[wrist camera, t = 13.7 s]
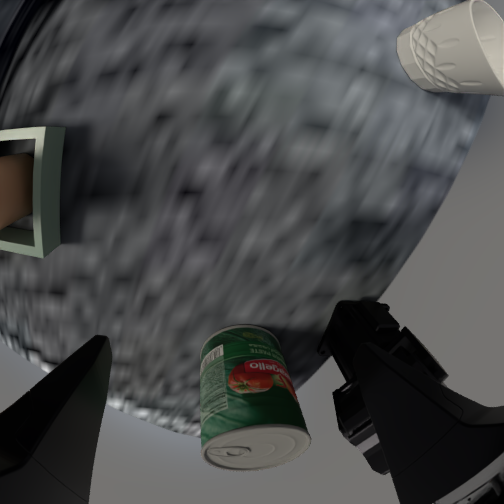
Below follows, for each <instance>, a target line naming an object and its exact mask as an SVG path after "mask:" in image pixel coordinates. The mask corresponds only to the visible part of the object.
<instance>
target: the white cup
mask: <svg viewBox="0 0 504 504" xmlns="http://www.w3.org/2000/svg"><path fill="white" fill-rule="evenodd" d="M397 53H398V56H399V59H400V62H401V65H402V67H403V68H404V70H405V71H406V73H407V74H408V76H409V77H410V79H411V80H412V81H413V82H414V83H416V84H417V85H418V86H419V87H420V88H422V89H424V90H427V91H430V92H451V93H466V94H481V95H496V96H504V21H503V20H502V18H501V17H500V16H499V14H498V13H497V12H496V11H495V10H494V9H493V8H492V7H491V6H490V5H489V4H488V3H486V2H485V1H483V0H468V1H465V2H462V3H460V4H457V5H454V6H452V7H449V8H447V9H444V10H442V11H439V12H437V13H435V14H433V15H431V16H430V17H427V18H425V19H423V20H421V21H420V22H418V23H417V24H415V25H413V26H411V27H409V28H406V29H404V30H403V31H402V32H401V34H400V35H399V36H398V38H397Z"/></svg>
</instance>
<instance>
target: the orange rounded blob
mask: <svg viewBox="0 0 504 504" xmlns="http://www.w3.org/2000/svg"><path fill="white" fill-rule="evenodd" d="M33 168H34V158H32V157H31V156H30V155H28V154H25V153H20V154H14V155H8V156H2V157H0V230H1V229H3V228H5V227H6V226H8V225H10V224H12V223H13V222H15V221H17V220H19V219H21V218H23V217H25V216H27V215H28V214H30V213H32V212H33Z"/></svg>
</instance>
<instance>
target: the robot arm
mask: <svg viewBox="0 0 504 504" xmlns="http://www.w3.org/2000/svg"><path fill="white" fill-rule="evenodd" d="M341 306H342V307H341ZM340 307H341V308H340ZM389 309H390V307H389V306H388V305H387V304H381V303H379V302H366V301H360V302H345V301H341V302H338V303H337V305H336V307H335V309H334V312H333V314H332V317H331V319H330V322H329V324H328V327H327V329H326V332H325V334H324V336H323V339H322V341H321V343H320V346H319V348H318V350H317V352H318V354H319V355H320V356H333V357H334V359H335V361H336V363H337V365H338V367H339V369H340V371H341V372H342V374H343V376H344V378H345V380H346V383H345V384H344V385H343V386H341V387H340V388H339V389H336V390H335V391H334V392H333V399H334V405H335V410H336V416H337V422H338V427H339V431H340V432H341V433H342V435H343V436H344V437H345V438H346V439H347V440H348V441H349V442H350V443H351V444H353V445H354V446H356V447H357V448H358V449H359V450H360V451H361V453H362V454H363V455H364V457H365V458H366V460H367V462H368V463H369V465H370V466H371V468H372V469H373V470H374V471H376V472H378V473H380V474H383V475H386V474H387V473H389V472H390V474H391V477H392V478H393V479H392V480H393V483H394V486H395V489H396V492H397V496H398V499H399V502H400V504H432V503H434V504H504V406H500V407H486V406H483V405H481V404H479V403H477V402H475V401H472V400H470V399H468V398H466V397H464V396H462V395H460V394H458V393H456V392H454V391H452V390H451V389H449V388H448V387H447V386H446V385H445V384H444V383H443V381H444V380H445V379H446V378H447V377H448V374H447V373H446V372H445V370H444V369H443V368H442V366H441V365H440V364H439V362H438V361H437V360H436V359H435V358H434V356H433V355H432V354H431V353H430V352H429V351H428V350H427V348H426V347H425V346H424V345H423V344H422V343H421V342H420V341H419V340H418V339H417V338H416V337H415V336H414V335H413V334H412V333H411V331H410V330H409V329H407V327H404V328H403V329H402V330H401V332H400V331H399V327H400V325H399V323H398V322H397V321H396V320H395V319H394V318H393V317H392V316H391V315H390V314H389V312H388V311H389ZM111 364H112V352H111V347H110V342H109V338H108V337H107V336H103V335H95V336H94V337H93V338H91V339H90V340H89V341H88V342H86V343H85V344H84V345H83V346H81V347H80V348H79V349H78V350H77V351H75V352H74V353H73V354H72V355H70V356H69V357H68V358H67V359H66V360H64V361H63V362H62V363H61V364H60V365H58V366H57V367H56V368H55V369H54V370H52V371H51V372H50V373H49V374H48V375H47V376H45V377H44V378H43V379H42V380H41V381H39V382H38V383H37V384H36V385H35V386H34V387H33V388H31V389H30V391H28V392H26V394H24V395H23V396H22V397H21V398H20V399H18V400H17V401H16V402H15V403H14V404H12V405H11V406H10V407H8V408H7V409H6V410H4V411H3V412H1V413H0V504H88V502H89V495H90V486H91V477H92V470H93V464H94V458H95V452H96V447H97V442H98V437H99V432H100V427H101V422H102V418H103V413H104V409H105V405H106V400H107V393H108V385H109V378H110V371H111Z"/></svg>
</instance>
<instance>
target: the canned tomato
mask: <svg viewBox="0 0 504 504" xmlns="http://www.w3.org/2000/svg"><path fill="white" fill-rule="evenodd" d="M200 359H201V366H200V370H201V373H200V377H201V379H200V384H201V385H200V391H201V392H200V398H201V400H200V404H201V408H200V411H201V416H200V418H201V444H202V449H201V456H202V458H203V460H204V461H205V462H207V463H208V464H209V465H211V466H213V467H216V468H219V469H223V470H229V471H258V470H263V469H269V468H273V467H276V466H279V465H282V464H285V463H287V462H290V461H292V460H294V459H295V458H297V457H299V456H300V455H301V454H303V453H304V452H305V451H306V450H307V449H308V447H309V446H310V444H311V437H310V434H309V433H308V431H307V427H306V424H305V420H304V417H303V415H302V411H301V409H300V405H299V402H298V400H297V396H296V393H295V390H294V387H293V384H292V381H291V379H290V375H289V372H288V369H287V366H286V363H285V360H284V357H283V354H282V352H281V346H280V344H279V341H278V339H277V338H276V337H275V336H274V335H273V334H272V333H271V332H270V331H268V330H266V329H264V328H261V327H258V326H254V325H235V326H230V327H227V328H224V329H221V330H219V331H217V332H215V333H214V334H213V335H211V336H210V337H209V338H208V339H207V340H206V341H205V343H204V344H203V346H202V348H201V353H200Z"/></svg>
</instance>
